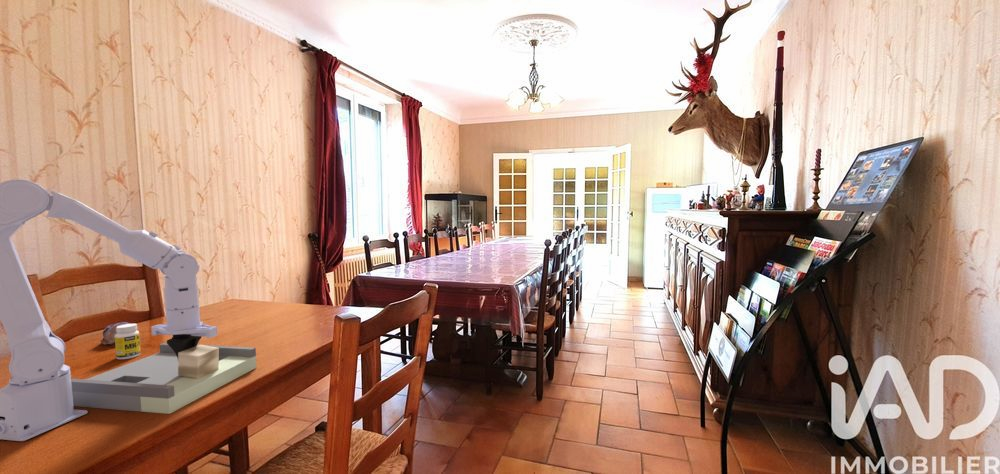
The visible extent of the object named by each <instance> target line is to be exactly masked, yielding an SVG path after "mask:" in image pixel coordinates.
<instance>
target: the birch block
mask: <svg viewBox="0 0 1000 474" xmlns="http://www.w3.org/2000/svg"><path fill="white" fill-rule="evenodd" d="M197 345H198V346H195V347H192V348H190V349H187V350H184V351H181V352H179V353H178V375H180V376H185V377H190V378H195V379H198V378H201V377H203V376H205V375H207V374H209V373H212V372H214V371H216V370H218V369H219V348H216V347H211V346H205V345H206V344H197Z"/></svg>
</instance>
